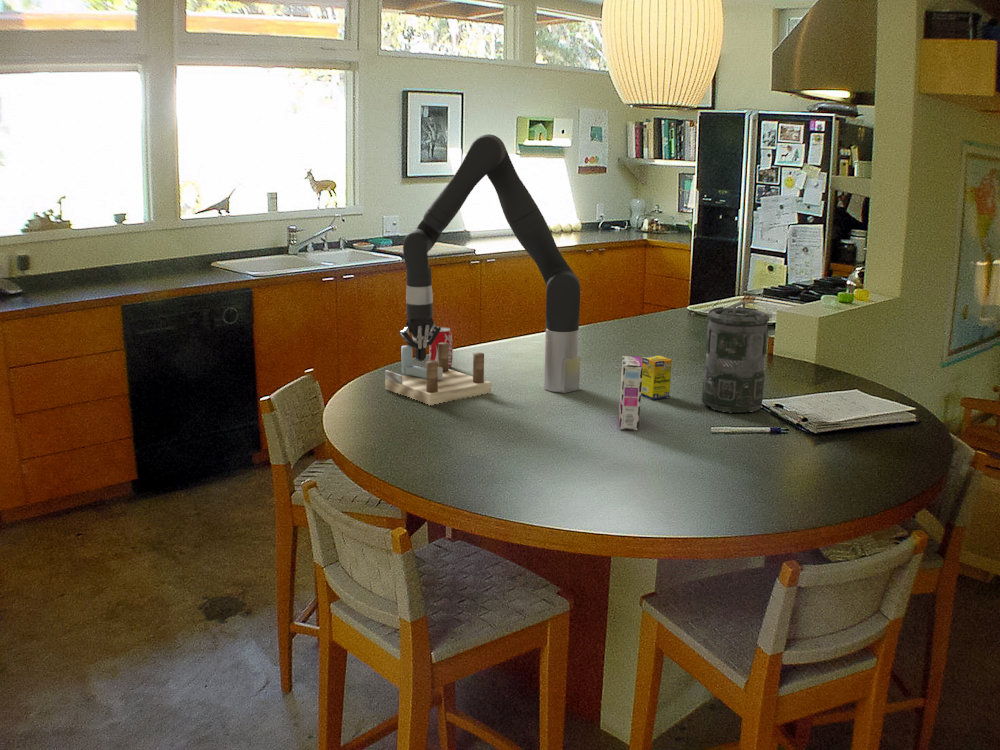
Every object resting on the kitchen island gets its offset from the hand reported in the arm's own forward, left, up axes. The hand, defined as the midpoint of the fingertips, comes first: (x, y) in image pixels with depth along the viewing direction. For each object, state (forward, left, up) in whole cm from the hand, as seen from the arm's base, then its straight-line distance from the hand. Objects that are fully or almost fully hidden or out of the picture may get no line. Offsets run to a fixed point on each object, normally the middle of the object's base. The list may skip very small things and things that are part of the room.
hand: (420, 360), depth 278 cm
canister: (-71, -51, -7) cm, 88 cm away
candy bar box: (-65, -17, -7) cm, 68 cm away
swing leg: (-6, +4, -3) cm, 7 cm away
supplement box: (-52, -42, -7) cm, 67 cm away
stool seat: (-11, +2, -6) cm, 13 cm away
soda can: (+10, -15, -7) cm, 19 cm away
